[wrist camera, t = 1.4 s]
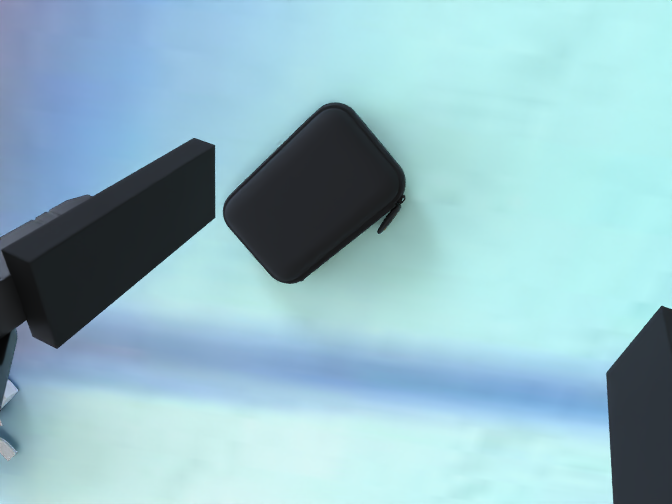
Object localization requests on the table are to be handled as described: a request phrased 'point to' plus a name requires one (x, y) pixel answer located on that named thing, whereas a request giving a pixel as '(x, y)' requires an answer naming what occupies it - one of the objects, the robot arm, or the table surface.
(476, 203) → the table surface
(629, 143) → the table surface
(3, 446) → the white irregular flat block
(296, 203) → the carrying case
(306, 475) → the table surface
